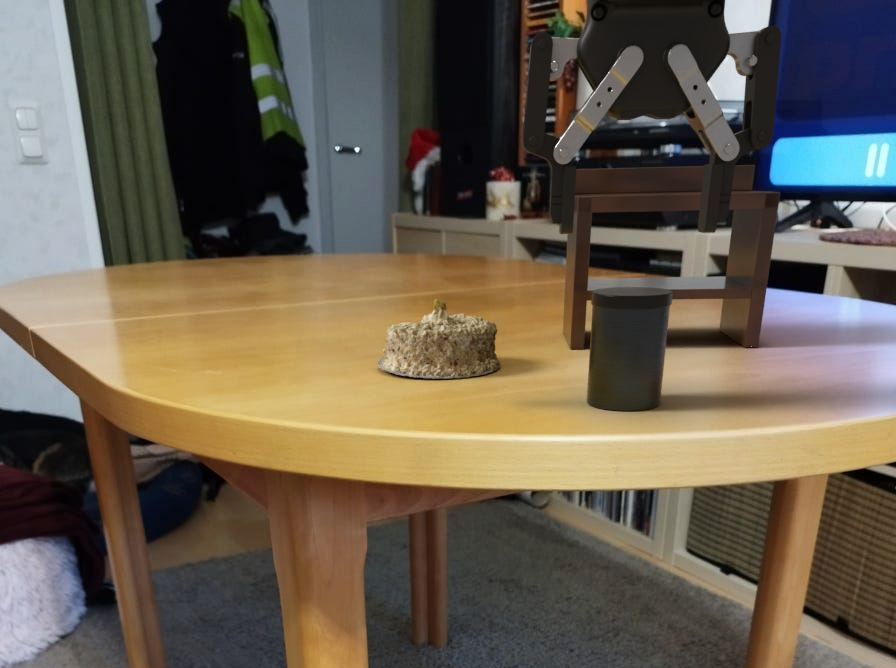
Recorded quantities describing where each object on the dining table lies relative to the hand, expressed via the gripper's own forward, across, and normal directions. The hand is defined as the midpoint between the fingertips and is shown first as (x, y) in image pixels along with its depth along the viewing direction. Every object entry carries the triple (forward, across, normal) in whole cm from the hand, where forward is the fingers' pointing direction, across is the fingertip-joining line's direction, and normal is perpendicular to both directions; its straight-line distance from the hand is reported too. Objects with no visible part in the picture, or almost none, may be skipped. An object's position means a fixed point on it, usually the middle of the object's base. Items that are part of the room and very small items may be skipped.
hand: (636, 232), depth 57 cm
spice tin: (+10, 0, 0) cm, 10 cm away
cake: (+11, -13, +13) cm, 21 cm away
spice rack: (+10, +6, +26) cm, 29 cm away
